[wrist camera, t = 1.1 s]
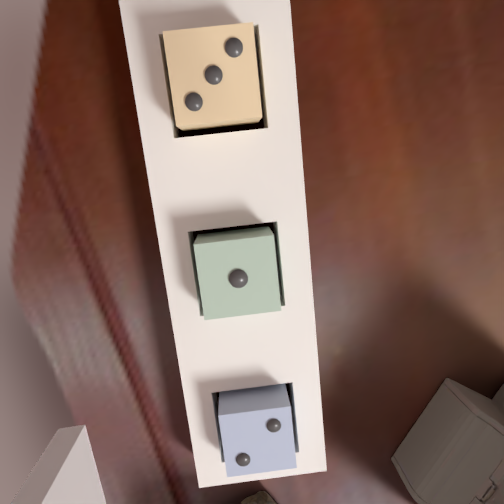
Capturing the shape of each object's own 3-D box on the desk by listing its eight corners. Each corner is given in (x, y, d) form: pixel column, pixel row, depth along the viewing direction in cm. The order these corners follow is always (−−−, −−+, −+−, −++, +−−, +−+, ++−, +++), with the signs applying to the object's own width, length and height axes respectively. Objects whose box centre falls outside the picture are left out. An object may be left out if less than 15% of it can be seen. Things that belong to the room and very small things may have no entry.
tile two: (219, 386, 31) (218, 416, 27) (283, 378, 31) (290, 407, 27) (227, 442, 32) (227, 478, 28) (289, 434, 32) (296, 469, 28)
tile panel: (131, 18, 26) (118, 0, 23) (282, 3, 26) (288, -17, 23) (201, 459, 34) (199, 488, 31) (318, 444, 34) (326, 470, 31)
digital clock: (423, 520, 37) (499, 662, 26) (352, 470, 35) (403, 600, 25) (554, 395, 34) (694, 496, 24) (485, 335, 33) (603, 415, 22)
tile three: (171, 49, 25) (162, 30, 22) (249, 41, 25) (253, 21, 22) (183, 131, 26) (175, 126, 23) (257, 122, 27) (262, 116, 23)
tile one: (197, 234, 28) (193, 244, 24) (268, 226, 28) (274, 235, 25) (207, 301, 29) (204, 320, 26) (275, 292, 29) (281, 311, 26)
